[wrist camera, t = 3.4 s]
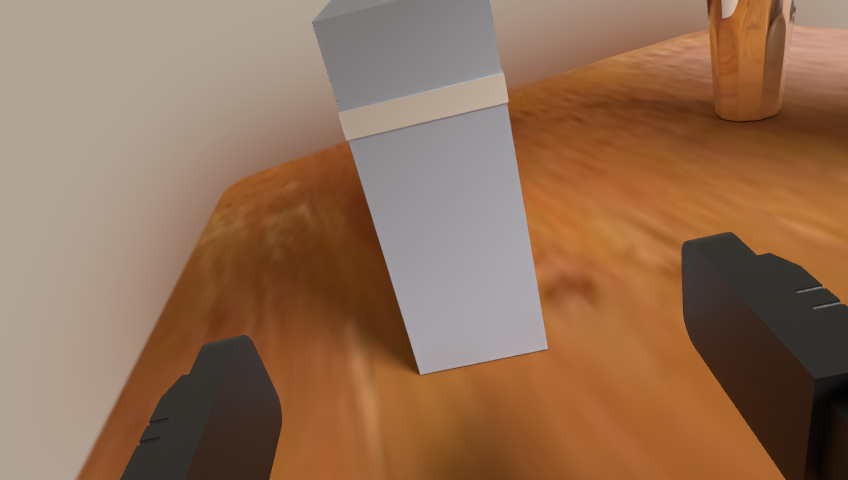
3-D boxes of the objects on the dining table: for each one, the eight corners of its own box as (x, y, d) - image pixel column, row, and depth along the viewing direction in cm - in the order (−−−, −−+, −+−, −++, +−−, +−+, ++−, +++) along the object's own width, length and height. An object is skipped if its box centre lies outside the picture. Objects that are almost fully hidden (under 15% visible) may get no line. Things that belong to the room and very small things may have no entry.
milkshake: (777, 134, 30) (790, -83, 26) (686, 119, 35) (682, -69, 30) (828, 104, 32) (849, -104, 27) (735, 93, 36) (739, -88, 31)
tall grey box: (549, 349, 20) (488, -23, 15) (419, 375, 21) (309, 23, 15) (522, 272, 25) (467, -36, 19) (415, 294, 25) (331, -1, 19)
